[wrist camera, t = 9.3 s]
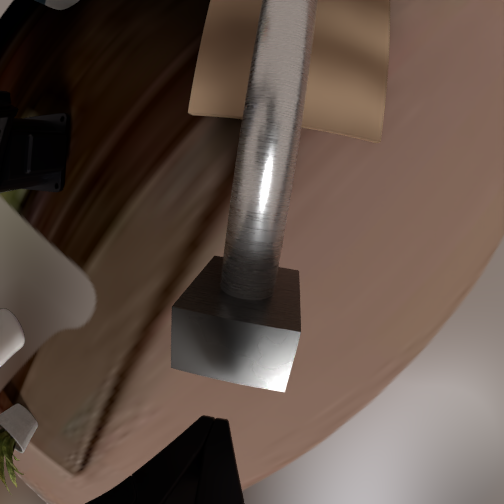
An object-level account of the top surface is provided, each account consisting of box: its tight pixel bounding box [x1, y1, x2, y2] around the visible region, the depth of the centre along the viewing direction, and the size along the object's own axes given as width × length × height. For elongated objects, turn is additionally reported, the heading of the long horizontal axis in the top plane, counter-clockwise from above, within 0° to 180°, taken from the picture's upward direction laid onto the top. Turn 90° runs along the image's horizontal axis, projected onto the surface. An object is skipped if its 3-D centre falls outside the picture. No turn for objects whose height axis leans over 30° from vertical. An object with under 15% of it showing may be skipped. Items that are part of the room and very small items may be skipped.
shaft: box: [171, 0, 318, 392], centre depth 9 cm, size 22×4×6 cm, turn 172°
